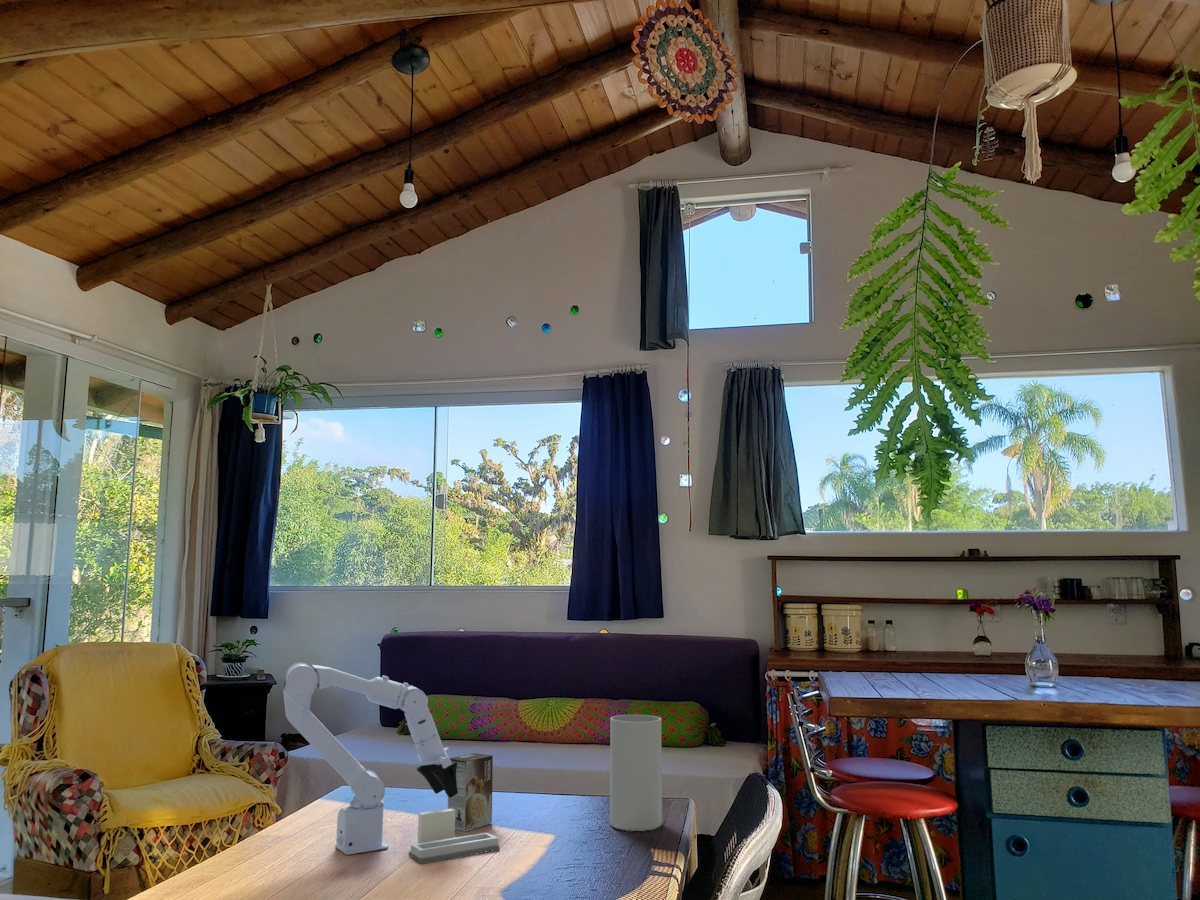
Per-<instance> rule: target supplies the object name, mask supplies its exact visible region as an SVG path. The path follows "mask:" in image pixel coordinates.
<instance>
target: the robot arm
mask: <svg viewBox="0 0 1200 900" xmlns="http://www.w3.org/2000/svg"><path fill="white" fill-rule="evenodd" d="M329 687H336V688H339V689H344V690H347V691H351V692H355V693H360V694H363V695H365V696H366V699H367V700H368V702H369V703H373V704H377V705H380V706H383V707H387V708H389V709H393V710H398V709H399V710H401V711H402V712H404V713H403V714H404V716H405V717H404V718H405V720H406V721H407V723H406V725H407V727H408V730H409V732H410V737H411V738H412V741H413V744H414V747H415V749H416V753H417V755H416V757H417V759H418V762H419V764H420V766H418V767H416V771H417V772H418V773H419V774H421V776H423V778H424V779H425V780H426V781H427V783H428V784H429V786H430V788H431V789H432V791H433V792H434V794H436V795H437V794H439V793H441V792H443V791H444V792H445V794H446V795H447V796H446V797H447V798H448V797H449V798H451V797H453V796H454V795H456V794H458V790H457V782H456V768H457V762H456V761H453V762H451V760H450V758H451V757H450V756H449V755H448V754H447V753H449V752H450V751H451V750H450V748H449V747H444V745H443V743H442V740H441V737H440V734H439V731H438V729H437V726H436V722H435V720H434V718H433V715H432V713H431V712H430V707H428V704H429V698H428V696H427V695H426V694H425V692H424V691H423V690H421V689H419V688H418V687H416V686H414V685H412V684H411V685H410V684H409V683H408V682H405V681H404V682H403V683H401V682H398V681H394V680H391V679H390V677H389V676H387V675H382V676H375V677H374V678H371V679H366V678H363V677H360V676H357V675H355V674H351V673H348V672H345V671H341V670H339V669H335V668H334V667H333V668H332V667H329V666H323V665H318V664H317V665H316V664H311V665H309V663H305V662H296V663H293V664H291V665H290V666H289V667H288V669H287V670H286V671H285V674H284V678H283V683H282V691H283V702H284V710H285V711H284V712H285V717H286V719H287V720H288V721H287V722H288V723H290V724H291V726H293V728H294V729H295V730H297V732H298V733H299V734H300V735H301V736H302V737H303V738H304V739H305V740H306V741H307V742H308V743H309V744H310V745H311V746H312V747H313V748H314V750H315V751H316V752H317V753H319V754H320V756H321V757H322V758H323V759H324V760H325V761H326V762H327V763H328V764H329V765H330V766H331V768H333V769H334V771H336V772H337V774H339V776H340V777H341V778H342V779H343V780H344V781H345V782H346V784H347V785H348V786H349V787H350V790H351V792H352V795H354V797H353V798H352V799H351V801H350V802H349V806H347V807H342V808H340V809H339V811H338V813H337V819H336V820H337V823H336V843H335V845H334V846H335V848H336V849H338V850H339V851H340V852H342V853H343V854H344V855H347V856H348V855H355V854H361V853H366V852H374V851H379V850H384V849H385V850H387V849H389V845H388V844H387V843H385V842H384V841H383V828H384V826H383V823H384V805H385V803H384V800H383V799H384V797H385V793H386V787H385V784H384V782H383V781H382V780H381V779H380V778H379V776H378V773H376V772H375V771H373V770H371V769H368V768H365V766H363V765H362V764H361V763H360V761H358V760H357V759H356V758H355V757H354V756H353V755H352V753H350V751H349V750H347V748H345V746H344V745H343V744H342V743H341V742H340V741H339V740H338V739H337V738H336V736H334V735H333V734H332V732H331V731H330V730H328V728H327V727H326V726H325V725H324V724H323V723H322V722H321V721H320V720H319V718H317V717H316V716H315V714H314V713H313V712H312V711H311V702H312V696H313V694H314V692H315V690H316V688H317V689H319V690H321V689H325V688H329Z"/></svg>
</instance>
